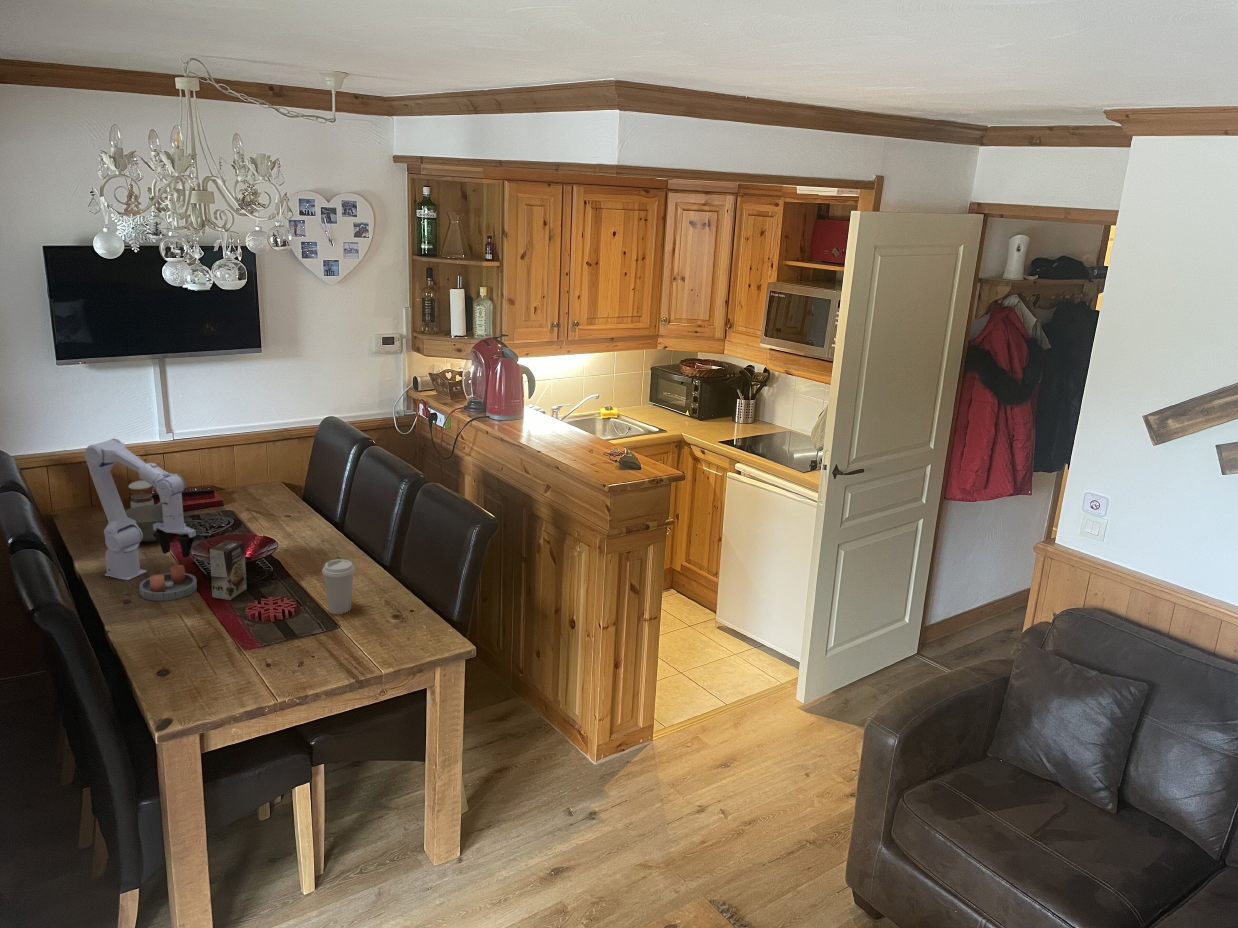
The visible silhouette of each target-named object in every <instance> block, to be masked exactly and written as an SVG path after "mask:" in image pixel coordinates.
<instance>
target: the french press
mask: <svg viewBox="0 0 1238 928" xmlns="http://www.w3.org/2000/svg"><path fill="white" fill-rule="evenodd" d="M136 456H137V457H138V458H139V459H141V460H142V457H141V456H140V455H136ZM127 486H128V489H131V490H135V491H140V492H138V493H137V492H136V493H134V494H131V496H130V498H131V499H130V501H129V502H130V508H134V507H139V506H145V505H155V500H154V497H153V494H152V493H154V490H155V491H156V488H155V487H154V486H152V485H150V484H149V483H147V482H146V481H144V480H142V479H141V478H139V480H136V481H132V482H131V483H129V484H128V485H127ZM147 489H152V491H151V492H142V490H147ZM156 505H162V502H161V500H160V501H159V502H158V503H157V504H156Z"/></svg>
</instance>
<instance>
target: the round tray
mask: <svg viewBox="0 0 1238 928" xmlns="http://www.w3.org/2000/svg"><path fill="white" fill-rule="evenodd" d="M158 575H164V580H165V592H152V591H151V587H150V577H151V576H150V577H147V578H145V579H144V580H142V581H141V582H140V583H139V584H138V586H139V594H140V597H141V598H143V599H145V600H147V601H153V602H167V601H174V600H175V601H176V600H178V599H182V598H185V597H189V596H190V595H192V594H193V593H195V592H196V591H197V588H198V586H197V585H198V582H197V581H198V580H197V577H196V576H195V575H193V574H191V573H186V572H185V580H186V582H185V583H183V584H179V585H174V582H173V581H171V572H166V573H159V574H158Z"/></svg>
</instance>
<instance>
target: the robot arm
mask: <svg viewBox="0 0 1238 928" xmlns="http://www.w3.org/2000/svg"><path fill="white" fill-rule="evenodd" d="M83 456H84V459H85V462H86V464H87V467H88V470H89V474H90V477H91V479H92V481H93V484H94V487H95V489H96V493H97V495H98V498H99V500H100V503H101V506H102V509H103V511H104V513H105V516H106V519H107V521H108V522H107V525H106V527H105V528H104V530H103V534H104V539H105V540H104V541H105V545H106V547H107V550H106V551H105V555H104V559H105V569H106V573H104V576H105V577H109V576H110V578H115V579H119V580H123V581H130V580H132V579H134V578H136V577H138V576H141V575H143V574H144V573H147V570H146V569H142V568H140V567H141V566H140V557H139V556H140V555H139V547H140V543H141V542H143V541H142V538H143V534H142V531H141V529H140V528H139V527H138V526H137V524H136V521H135V520H133V519H130V518H128V517H127V515H126V512H125V507H124V505H123V502H122V499H121V497H120V494H119V492H118V489H117V486H116V483H115V480H114V477H113V475H112V472H111V470H112V468H113V467H114V465H115V464H116V463H119V464H122V465H124V466H125V467H128V468H130V469H131V470H133V471H135V472H137V473H138V476H139V479H141V480H142V481H146V482H147V483H149V484H150V485H152V487H155V488H154V489H156V490H155V491H156V493H157V494H158V497H159V500H160V501H161V505H162V511H163V523H155V524H153V530H157V531H156V532H155V533H153V536H154V537H155V538H156V539H157V541H156V542H158V544H159V546H160V548H161V551H162V553H163V555H165V554H167V553H170V552H171V534H176V535H177V534H178V535H181V536H178V537H177V540H178V542H179V545H180V549H181V554H182V557H183V559H185V558H188V557H190V555H191V550H192V547H193V544H194V541H195V539H196V537H197V533H196V529H194V528H191V527H189V526H187V524H186V523H185V521H184V520H185V519H184V508H183V495H182V494H183V493H182V492H183V491H184V490H185V488H186V482H185V479H184V478H183V477H182V476H181V475H180V474H179V473H172V472H170V473H169V472H168V471H166V470H164V469H163V468H161V467H160V466H158V464H157V463H155V462H148V463H146V462H145V461H143V460H142V458H141V459H139V458H138V457H137V456H138V455H135V454H134V453H133V452H132V451H130V450H129V449H128V448H127V445H126V444H125V442H122V441H121V440H120V439H118V438H112V439H111V438H110V439H108V440H105V441H101V442H98V443H95V444H90V445H88V446H87V447H86V448H85V451H84V453H83Z"/></svg>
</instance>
